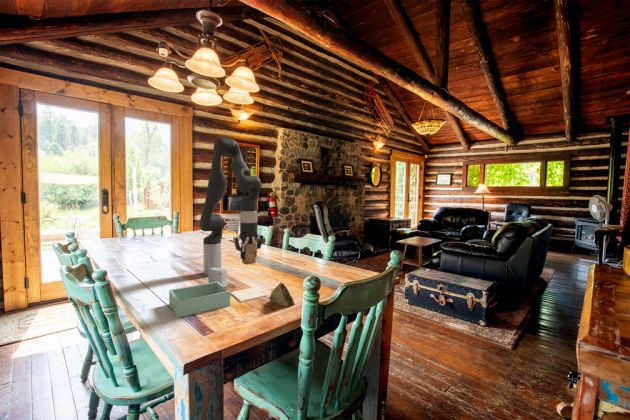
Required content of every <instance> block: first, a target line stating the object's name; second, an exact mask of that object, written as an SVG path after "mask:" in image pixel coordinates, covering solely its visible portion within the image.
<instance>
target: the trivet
mask: <svg viewBox="0 0 630 420" xmlns="http://www.w3.org/2000/svg"><path fill="white" fill-rule="evenodd" d="M230 295H232V296H233V297H234V298H235V299H237V301H239V302H240V303H243V302H248V301H252V300H256V299H261V298H265V297H267V294H266V293H264V291H263V292H262V290H260V289H259V288H257V287H255V286H254V287H248V288H244V289H239V290H235V291H230Z"/></svg>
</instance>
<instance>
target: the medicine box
mask: <svg viewBox="0 0 630 420" xmlns="http://www.w3.org/2000/svg"><path fill="white" fill-rule="evenodd" d="M207 278H208V280H207V283H211V282H217V281H219V282H220V283H221V284H222V285H223V286H224V287H225V288H227V287H228V269H227V268H222V267H221V268H215V267H214V268H211V269H209V270H208V277H207Z"/></svg>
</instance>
